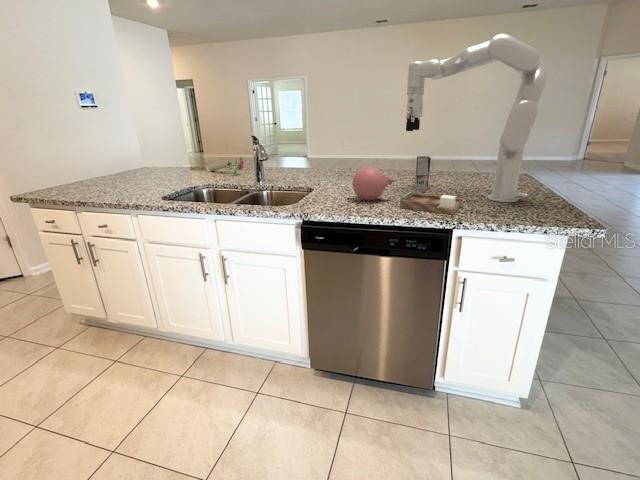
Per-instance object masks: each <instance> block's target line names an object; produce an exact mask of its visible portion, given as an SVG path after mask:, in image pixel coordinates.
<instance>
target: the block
mask: <svg viewBox="0 0 640 480" xmlns="http://www.w3.org/2000/svg"><path fill="white" fill-rule="evenodd" d="M441 196H442V197H440V206H439V207H442V208H451V209H452V208H453V207H454V206H455V200H456V198H457V195H456V196H455V195H450V194H448V195H446V194H442V195H441Z"/></svg>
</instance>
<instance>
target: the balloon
mask: <svg viewBox="0 0 640 480" xmlns="http://www.w3.org/2000/svg"><path fill="white" fill-rule="evenodd" d="M351 182H352V186H351V187H352V190H353V192H354V194H355V195H356V196H357V197H358V198H359V199H362V200H364V201H373V200H376V199H378V198H380V197H381V195H383V193H384V191H385V190H386V187H387V186H389V185H391V186H392V184H393V183H396V182H397V179H395V178H393V176H392V175H389V176H388V175H385V174H384V173H383V171H381V170H380V169H378V168H377V167H374V166H365V167H362V168H360V169H359V170H358V171H357V172H356V173H355V174H354V176H353V178H352V181H351Z"/></svg>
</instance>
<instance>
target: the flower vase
mask: <svg viewBox="0 0 640 480" xmlns="http://www.w3.org/2000/svg"><path fill="white" fill-rule="evenodd" d="M235 160H236V161H235V162H234V163H233V162H232V161H231V160H229V159H227V160H225V161H223V162H220V163H215V164H210V165H209V166H208V170H209V171H210V172H211V171H214V172H217V171H219V170H222V169H229V170H233V175H234V174H235V175H236V174H237V171H242V170H243V169H244V164H245V161H244V159H243V157H241V156H240V157H239V162H238V159H237V158H236V159H235Z"/></svg>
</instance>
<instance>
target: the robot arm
mask: <svg viewBox="0 0 640 480" xmlns="http://www.w3.org/2000/svg"><path fill="white" fill-rule="evenodd" d="M498 61H499V62H501V63H502V64H504V65H506V66H508V67H511V68H512V69H513V71H515V72H516V73H517V74H518V75H520V77H521V80H520V81H521V82H520V85H519V88H518V91H517V95H516V97H515V100H514V103H513V104H512V106H511V108H510V111H509V114H508V117H507V120H506V123H505V125H504V128H503V131H502V134H501V135H500V140H499V147H498V154H497V159H496V164H495V172H494V178H493V184H492V189H491V193H490V194H488V195H487V197H486V198H487V199H488V200H490V201H492V202H498V203H517V202H518V201H519V199H520V198H522V199H523V198H525V199H527V197H528V193H525V192H520V191H518V182H519V178H520V172H521V167H522V161H523V157H524V152H525V151H524V150H525V146H526V143H527V142H528V139H529V136H530V134H531V132H532V130H533V126H534V124H535V121H536V119H537V116H538V114H539V113H538V112H539V106H538V105H539V102H540V99H541V96H542V94H543V91H544V87H545V85H546V80H547V68H546V65H545V64H544V61H543V60H542V59H540V53H539V52H538V50H537V49H536V48H534V47H533V46H531V45H529V44H527V43H525V42H522V41H521V40H519V39H517V38H515V37H514V36H511V35H509V34H508V33H499V34H496V35H493V37H492V38H491V39H490V40H487V41H484V42H481V43H478V44H474V45H472V46H468V47H466V48H465V49H463V50H461V51H460V52H459V53H458V54H455V55H453V56H451V57H448V58H445V59H442V60H439V59H437V58H436V59H435V58H433V59H427V60H424V61H412V62H410V63H409V65H408V70H407V87H406V88H407V90H406V96H407V104H406V120H405V121H406V122H405V123H406V124H405V126H406V127H405V131H406V132H413V131H419V130H420V125H421V118H422V116H423V104H424V101H423V99H424V98H423V97H424V96H423V95H424V94H425V82H426V81H425V80H426V79H432V80H441V79H443V78H447V77H450V76H454V75H457V74H459V73H460V74H461V73H463V72H466V71H469V70H472V69H476V68H479V67H482V66H486V65H489V64H492V63H496V62H498Z"/></svg>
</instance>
